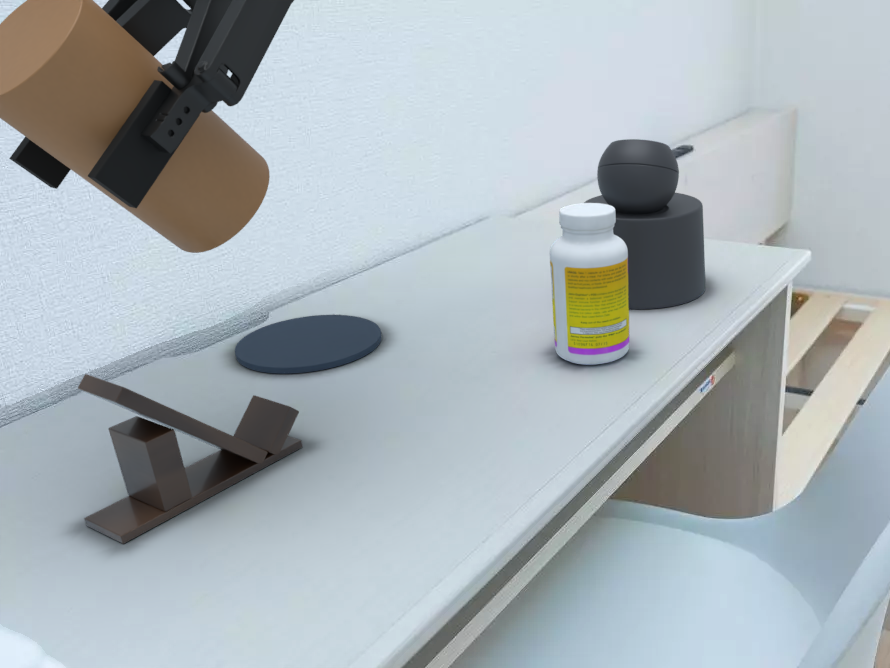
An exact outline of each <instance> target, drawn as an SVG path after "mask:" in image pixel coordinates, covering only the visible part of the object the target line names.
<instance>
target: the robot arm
mask: <svg viewBox="0 0 890 668" xmlns="http://www.w3.org/2000/svg"><path fill="white" fill-rule="evenodd" d="M182 1H183V2H184V3H185V4H186V5H187V6H188V7H189V8H190V9H188V8H185V7H184V6H183V5H182V4H181V3H180V2H179V1H178V0H107V2H106V3H105V4H104V5H103V6H102V7H101V8H102V9H103V10H104V11H105V12H106V13H107V14H108V15H109V16H111V17H112V18H113V19H114V20H115V21H116V22H117V23H118V24H119V25H120V26H121V27H122V28H124V29H125V30H126V31H127V32H128V33H129V34H130V35H131V36H132V37H133V38H134V39H135V40H137V41H138V42H139V43H140V44H141V45H142V46H143V47H144V48H145V49H146V50H147V51H148V52H150V53H151V54H152V55H153V56H154V57H155V56H156V55H157V54H158V53H159V52H160V51H162V49H163V48H165V46H167V44H168V43H170V42H171V41H172V40H173V39H174V38H175V37H176V36H177V35H178V34H179V33H180V32H181V31H182V30H183V29H185V31H184V34H183V37H182V39H181V42H180V45H179V47H178V50H177V53H176V56H175V59H174V60H172V62H167V63H165V64H163V65H162V66H161V67H162V68H163V69H164V70H163V69H162V68H161V67H160V66H159V67H158V69H157V70H158V72H159V73H160V74H161V75H162V76H163V77H164V78H166V79H167V80H168V81H169V82H170V83H171V84H172V85H173V86H174V87H173V88H172V89H170V88H169V87H168V86H167V85H166V84H165V83H164V82H163V81H158V80H154V81H153V83H152V84H151V86H150V87H149V89H148V90H147V91H146V93H145V94H144V96H143V97H142V99H141V100H140V102H139V103H138V105H137V106H136V108H135V109H134V110H133V112H132V113H131V114H130V116H129V117H128V119H127V120H126V121H125V123H124V124H123V126H122V127H121V129H120V130H119V131H118V133H117V134H116V136H115V137H114V139H113V140H112V142H111V143H110V144H109V146H108V147H107V149H106V150H105V152H104V153H103V154H102V156H101V157H100V159H99V160H98V162H97V163H96V164H95V166H94V167H93V169H92V170H91V172H90V173H89V174H88V177H89V178H91V179H92V180H93V181H95V182H96V183H98V184H99V185H100V186H102V187H103V188H104V189H106V190H107V191H108V192H110V193H111V194H113V195H114V196H115V197H117V198H118V199H119V200H121V201H122V202H123V203H125V204H126V205H128V206H129V207H133V208H137V207H138V206H139V204H140V203H141V201H142V200H143V198H144V197H145V195H146V194H147V192H148V191H149V189H150V188H151V186H152V185H153V183H154V182H155V180H156V179H157V178H158V176H159V175H160V173H161V172H162V170H163V169H164V167H165V166H166V164H167V163H168V161H169V160H170V158H171V157H172V155H173V154H174V152H175V151H176V149H177V148H178V146H179V145H180V143H181V142H182V140H183V139H184V138H185V136H186V135H187V133H188V132H189V130H190V129H191V127H192V126H193V124H194V123H195V121H196V120H197V118H198V117H199V115H200V113H201V112H203V113H207V112H210V111H211V110H212V111H213V110H214V109H215V108H216V107H217V105H218V103H219V102H223V103H224V104H225V105H227V106H228V107H234V106H236V105H238V104H239V103H240V102H241V100H242V99H243V98H244V96H245V94H246V92H247V90H248V88H249V86H250V84H251V82H252V81H253V78H254V77H255V75H256V73H257V72H258V69H259V67H260V65H261V63H262V61H263V59H264V57H265V55H266V53H267V52H268V50H269V48H270V45H271V44H272V42H273V40H274V38H275V36H276V34H277V32H278V30H279V28H280V26H281V24H282V22H283V21H284V19H285V18H286V15H287V13H288V11H289V9H290V7H291V5H292V4H293V3H294V2H295V0H182ZM229 72H230V73H231V75H230V76H229V75H228V73H229ZM9 160H11V161H12V162H13V163H15V164H16V165H17V166H19V167H20V168H22V169H23V170H24V171H26V172H28V173H29V174H31V175H32V176H34V177H35V178H36V179H38V180H39V181H40V182H42V183H44V184H45V185H46V186H48V187H49V188H52V189H55V190H57V189H58V188H59V187H60V185H61V184H62V183H63V181H64V180H65V178H66V177H67V175H68V174H69V172H70V171H72V170H71V169H70V168H68V167H67V166H65V165H64V164H63V163H61V162H60V161H59V160H57V159H56V158H54V157H53V156H52V155H50V154H49V153H47V152H46V151H45V150H43V149H42V148H41V147H39V146H38V145H36V144H35V143H34V142H32V141H31V140H30V139H28V138H27V137H25V136H24V138H23V140H21V142H20V143H19V145H18V146H17V147H16V149H15V150H14V151H13V152H12V154H11V155H10V157H9Z"/></svg>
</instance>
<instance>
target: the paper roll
mask: <svg viewBox="0 0 890 668" xmlns="http://www.w3.org/2000/svg"><path fill="white" fill-rule="evenodd" d="M102 8H103V7H102V6H100V5H99V4H98V3H97V2H96V1H95V0H25V1H24V2H22V4H20V5H19V6H18V7H16V8H15V9H14V10H13V11H12V12H11V13H9V14H8V15H7V16H6V17H5V18H4V20H2V21H1V23H0V120H2V121H3V122H4V123H6V124H7V125H8V126H10V127H12V128H13V129H14V130H15V131H17V132H18V133H19V134H21V135H23V136H24V138H25V137H27V138H28V139H30V140H31V141H32V142H34V143H35V144H36V145H38V146H39V147H41V148H42V149H43V150H45V151H46V152H47V153H49V154H50V155H52V156H53V157H54V158H56V159H57V160H59V161H60V162H61V163H63V164H64V165H65V166H67V167H68V168H70V169H71V170H70V171H71V172H73V173H75V174H76V175H77V176H79V177H80V178H82V179H83V180H85V181H86V182H88V183H89V184H90V185H91V186H93V187H94V188H96V189H97V190H98V191H99V192H101V193H103V195H105V196H107V197H108V198H109V199H111V200H112V201H114V202H115V203H116V204H118V205H119V206H120V207H122V208H123V209H125V210H126V211H127V212H129V213H130V214H132V215H133V216H134V217H136V219H138V220H140V221H141V222H143V223H144V224H145V225H147V226H148V227H149V228H151V229H152V230H153V231H155V232H156V233H157V234H159V235H160V236H161V237H163V238H165V239H166V240H167V241H169V242H170V243H172V244H173V245H174V246H175V247H177V248H178V249H180V250H181V251H183V252H186V253H191V254H201V253H206V252H208V251H211V250H213V249H216V248H219V247H220V246H222V245H224V244H225V243H227V242H228V241H230V240H231V239H233V238H234V237H235V236H237V235H238V233H240V232H241V231H242V230H243V229H244V228H245V227H246V226H247V225H248V224H249V223H250V222H251V220H252V219H253V217H254V216H255V215H256V213H257V212H258V210H259V209H260V207H261V205H262V204H263V201H264V199H265V198H266V195H267V192H268V188H269V184H270V179H271V178H270V177H271V176H270V168H269V165H268V163H267V160H266V159H265V158H264V157H263V156H262V155H261V154H260V153H259V152H258V151H257V150H256V149H254V148H253V146H252V145H251V144H249V142H247V141H246V140H245V139H244V138H243V137H242V136H240V134H238V132H236V131H235V130H234V129H233V128H232V127H231V126H230V125H229V124H228V123H227V122H225V121H224V120H223V118H221V117H220V116H219V115H218V114H217V113H215V111H214V110H213V109H212V110H211V111H210V112H207V113H203V112H201V113H200V115H199V117H198V118H197V120H196V121H195V123H194V124H193V126H192V127H191V129H190V130H189V132H188V133H187V135H186V136H185V138H184V139H183V140H182V142H181V143H180V145H179V146H178V148H177V149H176V151H175V152H174V154H173V155H172V157H171V158H170V160H169V161H168V163H167V164H166V166H165V167H164V169H163V170H162V172H161V173H160V175H159V176H158V178H157V179H156V180H155V182H154V183H153V185H152V186H151V188H150V189H149V191H148V192H147V194H146V195H145V197H144V198H143V200H142V201H141V203H140V204H139V206H138V207H137V208H133V207H129V206H128V205H126V204H125V203H123V202H122V201H121V200H119V199H118V198H117V197H115V196H114V195H113V194H111V193H110V192H108V191H107V190H106V189H104V188H103V187H102V186H100V185H99V184H98V183H96V182H95V181H93V180H92V179H91V178H89V177H88V174H89V173H90V172H91V170H92V169H93V167H94V166H95V164H96V163H97V162H98V160H99V159H100V157H101V156H102V154H103V153H104V152H105V150H106V149H107V147H108V146H109V144H110V143H111V142H112V140H113V139H114V137H115V136H116V134H117V133H118V131H119V130H120V129H121V127H122V126H123V124H124V123H125V121H126V120H127V119H128V117H129V116H130V114H131V113H132V112H133V110H134V109H135V108H136V106H137V105H138V103H139V102H140V100H141V99H142V97H143V96H144V94H145V93H146V91H147V90H148V89H149V87H150V86H151V84H152V83H153V81H154V80H158V81H163V82H164V83H165V84H166V85H167V86H168V87H169V88H170V89H172V88H173V87H174V86H173V85H172V84H171V83H170V82H169V81H168V80H167V79H166V78H164V77H163V76H162V75H161V74H160V73H159V72H158V70H157V69H158V67H159V66H160V67H161V66H162V65H164V64H163V63H162V62H161V61H159V59H157V58H156V57H155V56H153V55H152V54H151V53H150V52H148V51H147V50H146V49H145V48H144V47H143V46H142V45H141V44H140V43H139V42H138V41H137V40H135V39H134V38H133V37H132V36H131V35H130V34H129V33H128V32H127V31H126V30H125V29H124V28H122V27H121V26H120V25H119V24H118V23H117V22H116V21H115V20H114V19H113V18H112V17H111V16H109V15H108V14H107V13H106V12H105V11H104V10H103V9H102ZM161 68H162V67H161ZM162 69H163V68H162ZM163 70H164V69H163Z"/></svg>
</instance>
